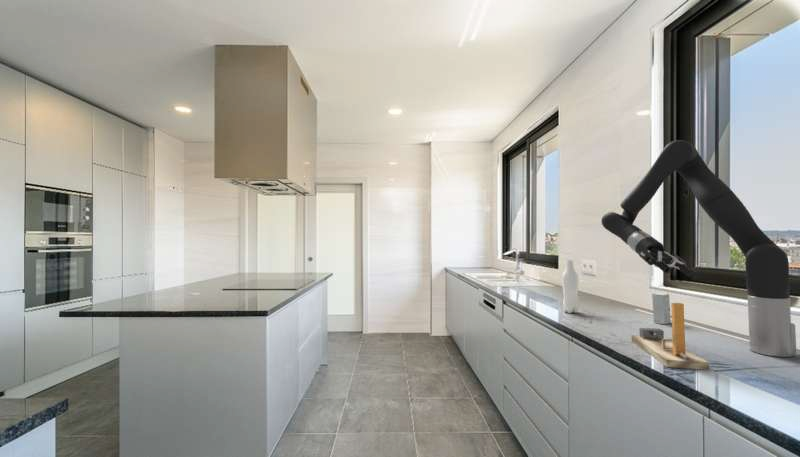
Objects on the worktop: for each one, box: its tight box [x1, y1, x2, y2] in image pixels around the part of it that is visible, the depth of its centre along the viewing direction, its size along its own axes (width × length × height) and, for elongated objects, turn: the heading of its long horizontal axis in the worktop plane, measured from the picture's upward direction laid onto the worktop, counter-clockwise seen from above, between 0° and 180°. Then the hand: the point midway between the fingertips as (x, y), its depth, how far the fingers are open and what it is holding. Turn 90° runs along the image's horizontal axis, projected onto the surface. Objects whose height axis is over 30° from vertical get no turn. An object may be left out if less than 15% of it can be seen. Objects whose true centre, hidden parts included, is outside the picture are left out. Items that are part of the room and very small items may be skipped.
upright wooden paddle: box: [662, 302, 689, 359], centre depth 105 cm, size 4×10×15 cm, turn 166°
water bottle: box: [561, 259, 580, 314], centre depth 175 cm, size 7×7×25 cm
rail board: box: [631, 335, 710, 370], centre depth 112 cm, size 10×26×2 cm, turn 166°
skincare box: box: [651, 292, 672, 325], centre depth 152 cm, size 6×4×12 cm
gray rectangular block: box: [639, 327, 665, 340], centre depth 121 cm, size 6×6×3 cm
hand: (680, 272), depth 116 cm, fingers open, 8 cm apart
